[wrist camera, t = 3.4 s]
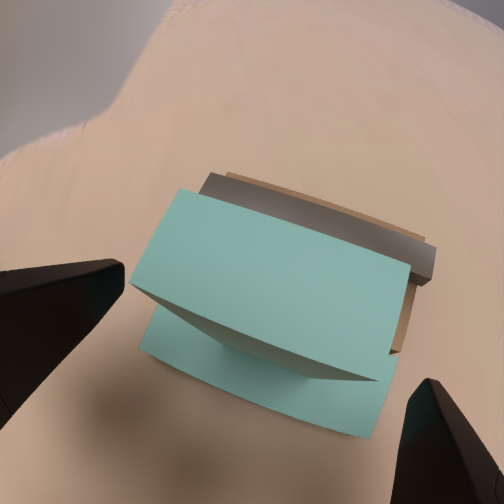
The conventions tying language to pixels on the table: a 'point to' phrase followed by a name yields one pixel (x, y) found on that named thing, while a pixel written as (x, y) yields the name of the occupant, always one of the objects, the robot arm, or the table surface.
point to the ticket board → (333, 229)
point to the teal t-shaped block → (273, 311)
